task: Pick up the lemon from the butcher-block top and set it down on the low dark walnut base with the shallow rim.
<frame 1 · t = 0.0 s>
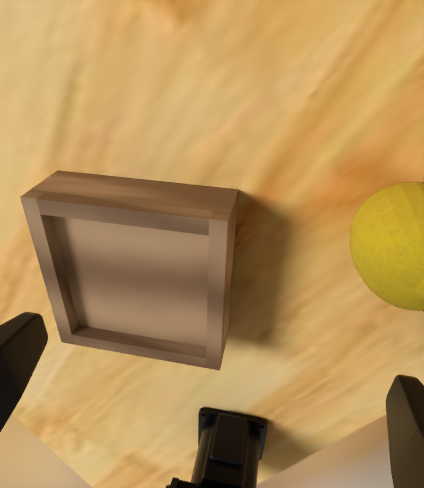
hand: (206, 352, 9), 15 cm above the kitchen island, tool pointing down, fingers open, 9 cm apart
lemon: (392, 204, 22), on the kitchen island
walnut base: (150, 256, 27), on the kitchen island
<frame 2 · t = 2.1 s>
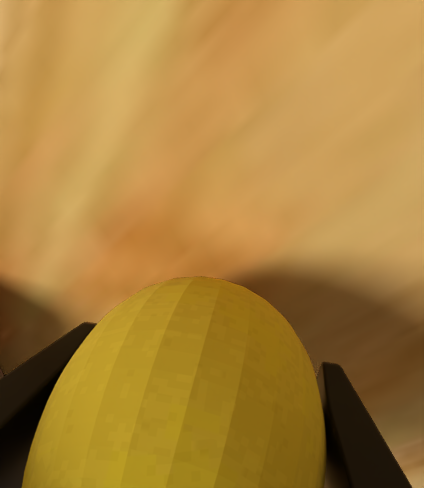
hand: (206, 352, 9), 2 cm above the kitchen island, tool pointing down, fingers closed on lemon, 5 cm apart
lemon: (221, 294, 11), on the kitchen island, touching gripper
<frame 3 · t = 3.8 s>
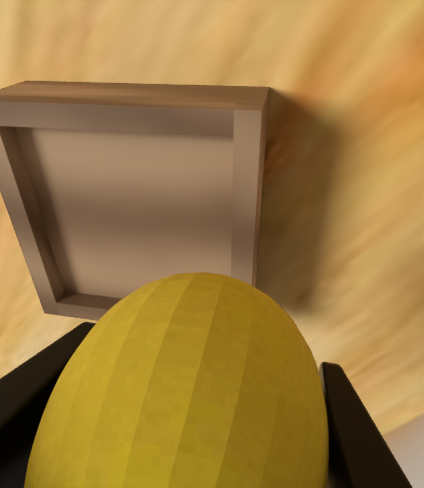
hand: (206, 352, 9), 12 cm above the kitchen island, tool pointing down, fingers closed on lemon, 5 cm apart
lemon: (223, 291, 11), point 9 cm above the kitchen island, touching gripper
walnut base: (153, 198, 21), on the kitchen island
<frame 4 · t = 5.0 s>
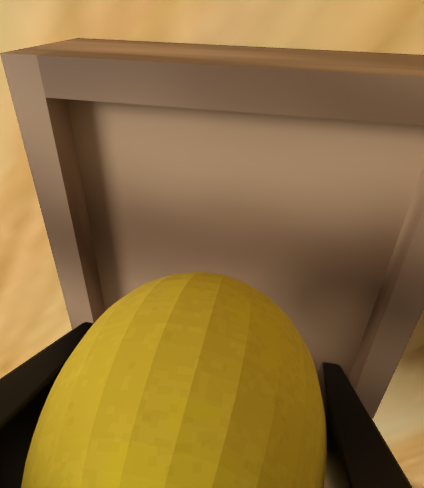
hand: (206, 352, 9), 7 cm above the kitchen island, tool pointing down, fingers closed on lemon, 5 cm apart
lemon: (221, 291, 11), point 5 cm above the kitchen island, touching gripper
walnut base: (241, 213, 15), on the kitchen island
when the fingers open (6 cm above the kitchen island, at t = 5.6 s): lemon stays where it is, resting on walnut base.
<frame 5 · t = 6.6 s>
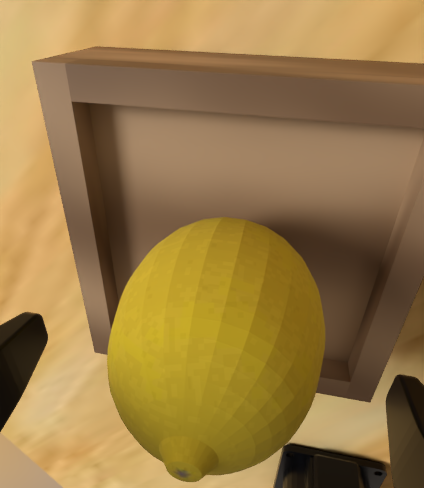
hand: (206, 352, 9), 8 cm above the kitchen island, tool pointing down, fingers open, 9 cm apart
lemon: (239, 246, 14), point 3 cm above the kitchen island, touching walnut base
walnut base: (246, 210, 16), on the kitchen island
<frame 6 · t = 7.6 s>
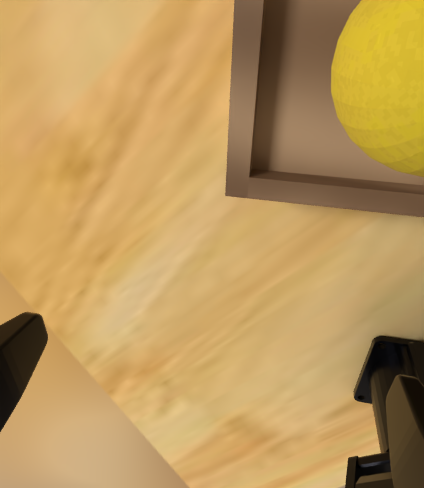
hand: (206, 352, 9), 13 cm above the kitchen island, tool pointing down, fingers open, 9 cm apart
lemon: (400, 51, 14), point 3 cm above the kitchen island, touching walnut base
walnut base: (384, 43, 16), on the kitchen island
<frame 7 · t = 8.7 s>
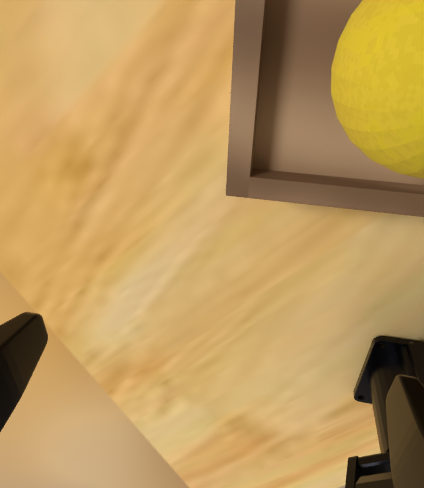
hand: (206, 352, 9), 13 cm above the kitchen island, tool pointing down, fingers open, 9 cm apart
lemon: (401, 51, 14), point 3 cm above the kitchen island, touching walnut base
walnut base: (385, 43, 16), on the kitchen island
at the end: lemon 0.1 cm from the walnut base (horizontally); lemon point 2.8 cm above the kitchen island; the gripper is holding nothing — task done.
